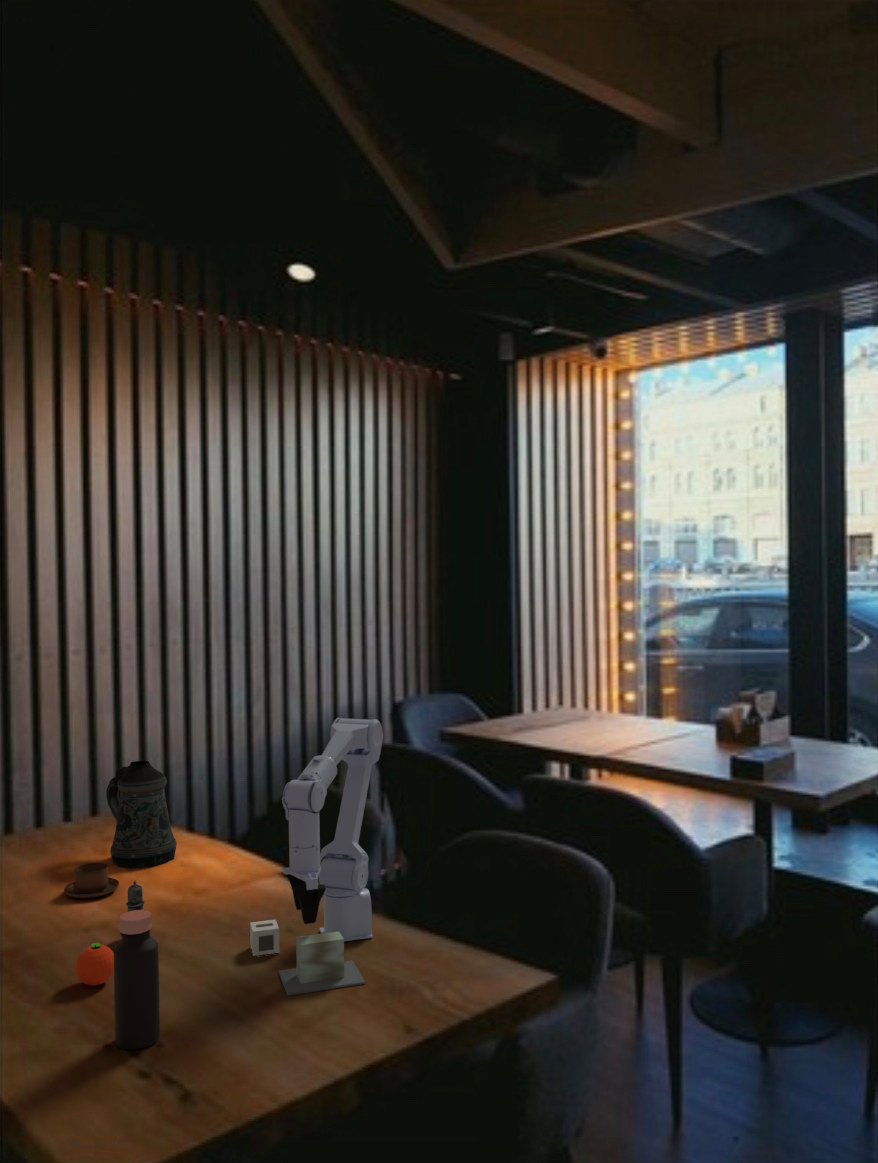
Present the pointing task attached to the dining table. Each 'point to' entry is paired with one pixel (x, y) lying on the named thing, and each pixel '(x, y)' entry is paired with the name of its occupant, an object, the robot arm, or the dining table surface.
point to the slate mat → (294, 986)
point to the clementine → (95, 964)
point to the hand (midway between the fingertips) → (305, 915)
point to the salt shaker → (135, 897)
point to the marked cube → (264, 937)
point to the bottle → (136, 982)
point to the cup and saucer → (91, 881)
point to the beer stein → (140, 817)
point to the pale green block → (320, 957)
